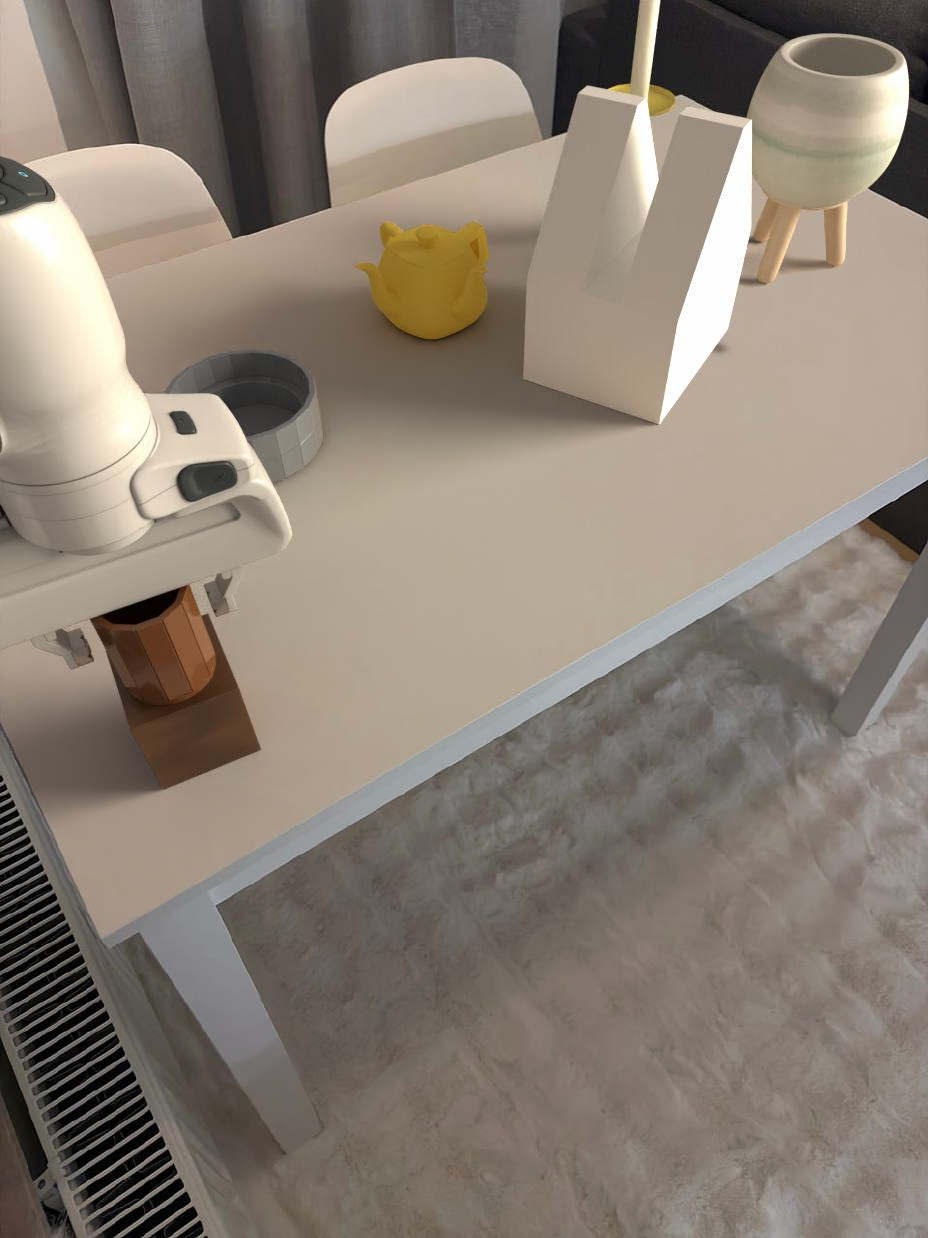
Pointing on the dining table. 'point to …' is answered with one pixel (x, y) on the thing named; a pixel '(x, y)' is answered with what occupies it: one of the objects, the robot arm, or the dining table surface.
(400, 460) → the dining table surface
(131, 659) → the cup
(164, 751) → the stand
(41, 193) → the robot arm
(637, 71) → the candle
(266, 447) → the grey round tub
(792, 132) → the planter
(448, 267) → the teapot
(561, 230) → the white v-notched block
